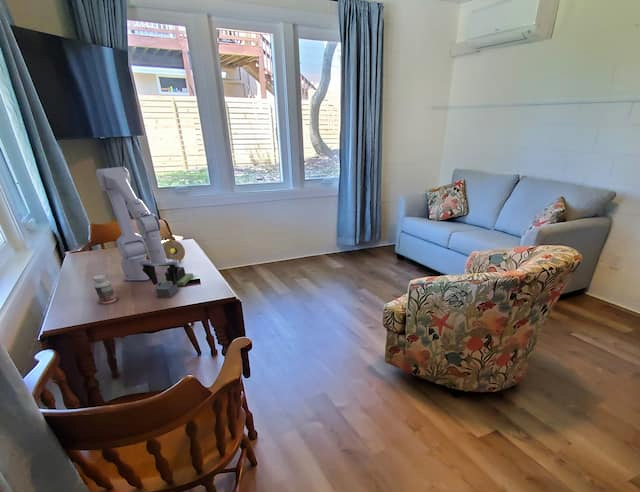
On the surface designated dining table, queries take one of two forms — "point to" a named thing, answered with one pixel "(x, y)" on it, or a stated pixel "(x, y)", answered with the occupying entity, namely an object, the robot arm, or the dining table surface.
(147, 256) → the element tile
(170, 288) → the grey block
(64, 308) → the dining table surface
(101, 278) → the pill bottle
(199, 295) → the dining table surface
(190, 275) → the base pad
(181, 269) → the black rectangular block
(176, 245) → the stone disc
